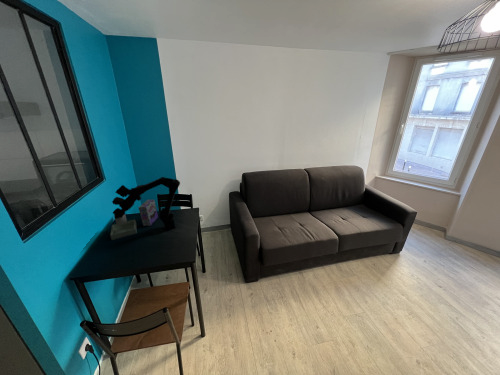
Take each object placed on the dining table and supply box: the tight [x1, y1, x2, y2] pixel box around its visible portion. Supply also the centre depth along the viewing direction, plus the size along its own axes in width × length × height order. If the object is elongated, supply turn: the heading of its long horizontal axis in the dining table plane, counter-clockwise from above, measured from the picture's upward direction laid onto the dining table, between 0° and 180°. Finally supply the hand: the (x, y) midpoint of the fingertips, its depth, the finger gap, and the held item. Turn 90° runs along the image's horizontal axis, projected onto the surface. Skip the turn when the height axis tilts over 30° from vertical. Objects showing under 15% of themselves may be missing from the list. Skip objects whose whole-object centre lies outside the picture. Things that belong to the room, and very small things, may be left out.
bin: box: [110, 219, 138, 241], centre depth 139 cm, size 15×15×4 cm
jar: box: [113, 213, 128, 226], centre depth 136 cm, size 6×6×8 cm
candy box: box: [138, 199, 159, 227], centre depth 149 cm, size 14×6×16 cm, turn 179°
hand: (117, 215), depth 135 cm, fingers closed on jar, 6 cm apart
